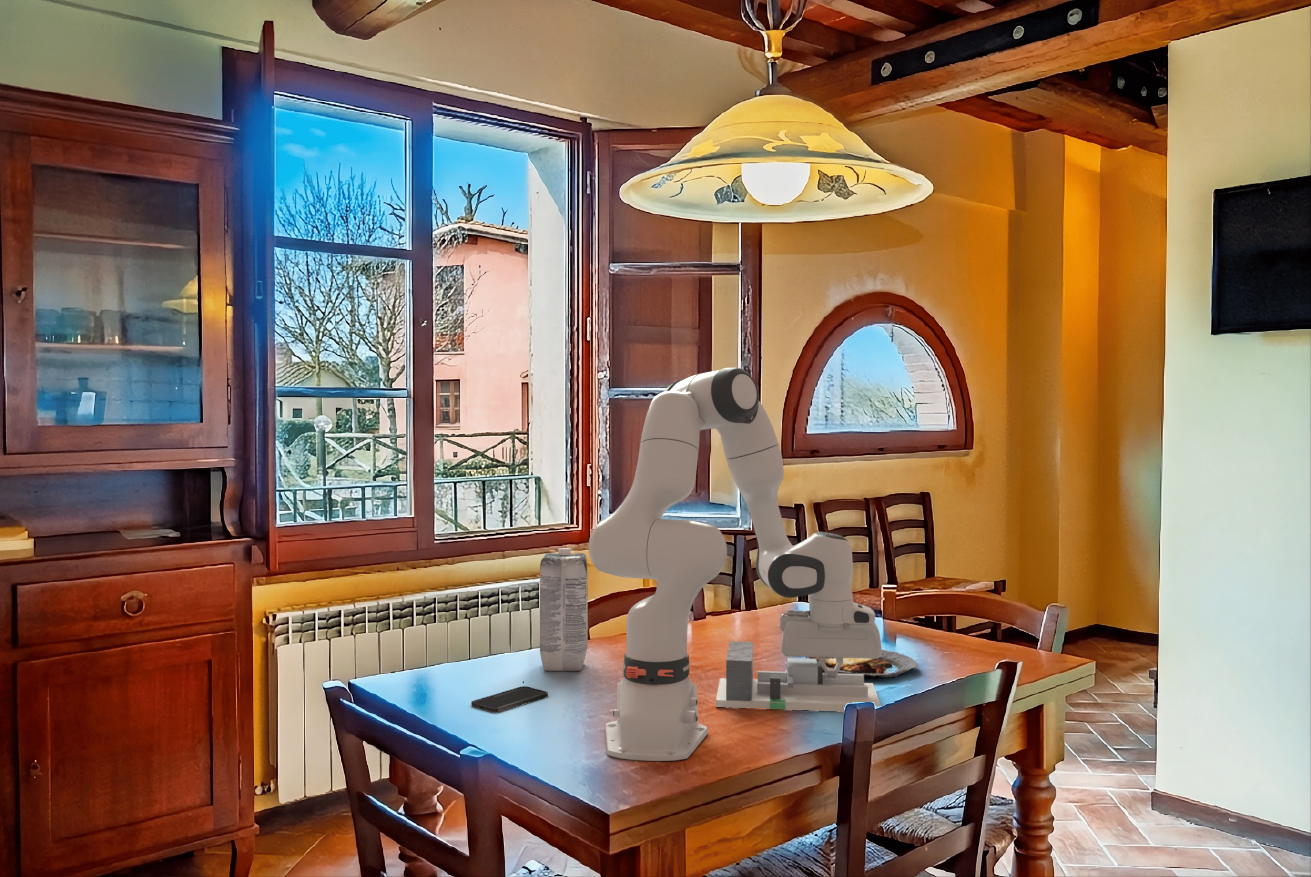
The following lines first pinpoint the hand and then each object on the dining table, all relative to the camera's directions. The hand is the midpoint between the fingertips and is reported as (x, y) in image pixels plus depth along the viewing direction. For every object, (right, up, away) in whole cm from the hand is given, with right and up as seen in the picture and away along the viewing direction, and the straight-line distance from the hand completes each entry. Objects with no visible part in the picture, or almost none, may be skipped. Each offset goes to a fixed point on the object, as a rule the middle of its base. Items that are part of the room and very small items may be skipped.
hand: (830, 678), depth 205 cm
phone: (-65, -4, -3) cm, 66 cm away
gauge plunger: (-6, -2, -2) cm, 6 cm away
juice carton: (-57, -3, +22) cm, 61 cm away
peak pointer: (-12, -2, -7) cm, 14 cm away
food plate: (+11, -4, +23) cm, 25 cm away
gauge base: (-7, -4, -2) cm, 8 cm away
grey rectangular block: (-19, -2, 0) cm, 19 cm away
